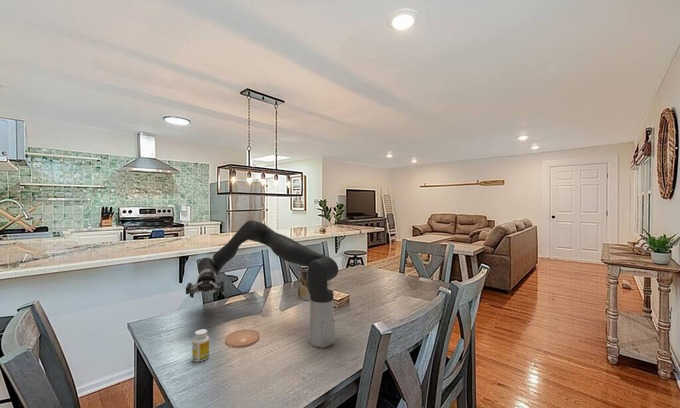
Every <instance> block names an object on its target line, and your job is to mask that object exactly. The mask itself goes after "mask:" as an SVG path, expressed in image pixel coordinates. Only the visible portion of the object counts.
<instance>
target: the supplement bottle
mask: <svg viewBox="0 0 680 408" xmlns="http://www.w3.org/2000/svg"><path fill="white" fill-rule="evenodd" d="M191 353H192V356H191V357H192V358H191V359H192V361H193V362H194V361H195V363H200V362H199V361H202V362H204V361H203V360H205V361H206V359H207V358H208V359H209V357H210V337H209V335H208V329H205V328H204V329H198V330H196V331H194V338H193V339H192V352H191ZM208 359H207V360H208Z"/></svg>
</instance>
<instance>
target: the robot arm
mask: <svg viewBox="0 0 680 408" xmlns="http://www.w3.org/2000/svg"><path fill="white" fill-rule="evenodd" d="M246 241H252V242H255V243H260V244H263V245H265V246H267V247H269V248H270V249H271V251H272V252H273V254H274V255H276V256H277V257H278V258H280V259H282V260H284V261H285V262H287V263H288V262H289V263H291V264H296V265H301V266H305V267H307V269H308V290H309V294H310V301H309V304H310V305H309V343H310V345H311V346H313V347H316V348H321V349H325V348H328V347H330V346H331V345H334V344H335V340H336V339H335V338H336V337H335V336H336V335H335V334H336V333H335V332H336V328H335V326H336V320H335V319H334V299H335V298H334V291H333V290H332V289H329V288H328V281H331V280H333V279H334V278H336V277H337V275H338V274H339V266H338V263H337V262H336V261H335V260H334V259H333V258H332V257H329V256H327V255H324V254H322V253H320V252H316V251H314V250H312V249H310V248H309V247H307V246H305V245H304V244H301V243H299V242H297V241H296V240H294V239H292V238H291V237H288V236H287V235H284V234H281V233H278V232H276V231H274V230H273V229H271V227H269V226H267V225H266V224H264V223H263V222H259V221H257V220H254V219H252V220H251V219H249V220H247V221H246V222H245V223H244V224H242V226H241V227H240V228H239V230H237V232H236V233H234V235H233V236H232V237H231V238H230V240H229V241H228V242H227V243H226V244H224V245H223V246H222V247H221V248H220V249H219V250H218V251H216V252H215V253H214V254H213V256H212V259H211V258H210V257H203V258H202V259H200V261H199V262H198V264H197V271H198V273H199V274H198V277H197V281H196V283H195V284H192V282H188V283H187V284H186V287H185V294H186V295H188V294H189V297H190V298H194V297H195V294H199V293H201V292H204V293H205V292H206V293H207V292H211V293H214V296H215V297H217V296H219V294H220V292H221V293H224V292H225V282H224V281H223V280H221V281H220V282H219V283H218V282H217V276H218V275H219V274H220V272H221V270H222V269H223V267H224V266H225V265H226V264H227V263H228V262H229V261H231V260H232V259H233V258H234V257H235V256H236V255H237V252H238V251H239V248H240V246H241V245H242V244H243V243H245V242H246Z"/></svg>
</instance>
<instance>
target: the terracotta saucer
mask: <svg viewBox="0 0 680 408" xmlns="http://www.w3.org/2000/svg"><path fill="white" fill-rule="evenodd" d="M259 340H260V332H258V331H257V330H254V329H251V328H250V329H248V328H247V329H240V330H235V331H232V332H230V333H228V334H227V335H226V336H225V338H224V342H225V343H224V344H225V345H226V344H227V345H228V347H230V346H232V347H231V348H234V347H241V348H246V346H247V347H249V346H252V345H255V344H256V343H258V341H259ZM227 345H226V346H227Z"/></svg>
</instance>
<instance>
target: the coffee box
mask: <svg viewBox="0 0 680 408" xmlns="http://www.w3.org/2000/svg"><path fill="white" fill-rule="evenodd" d="M297 298H298V300H303V301H308V302H310V294H309V290H308V268H302V269H299V270H298V271H297Z"/></svg>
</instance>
